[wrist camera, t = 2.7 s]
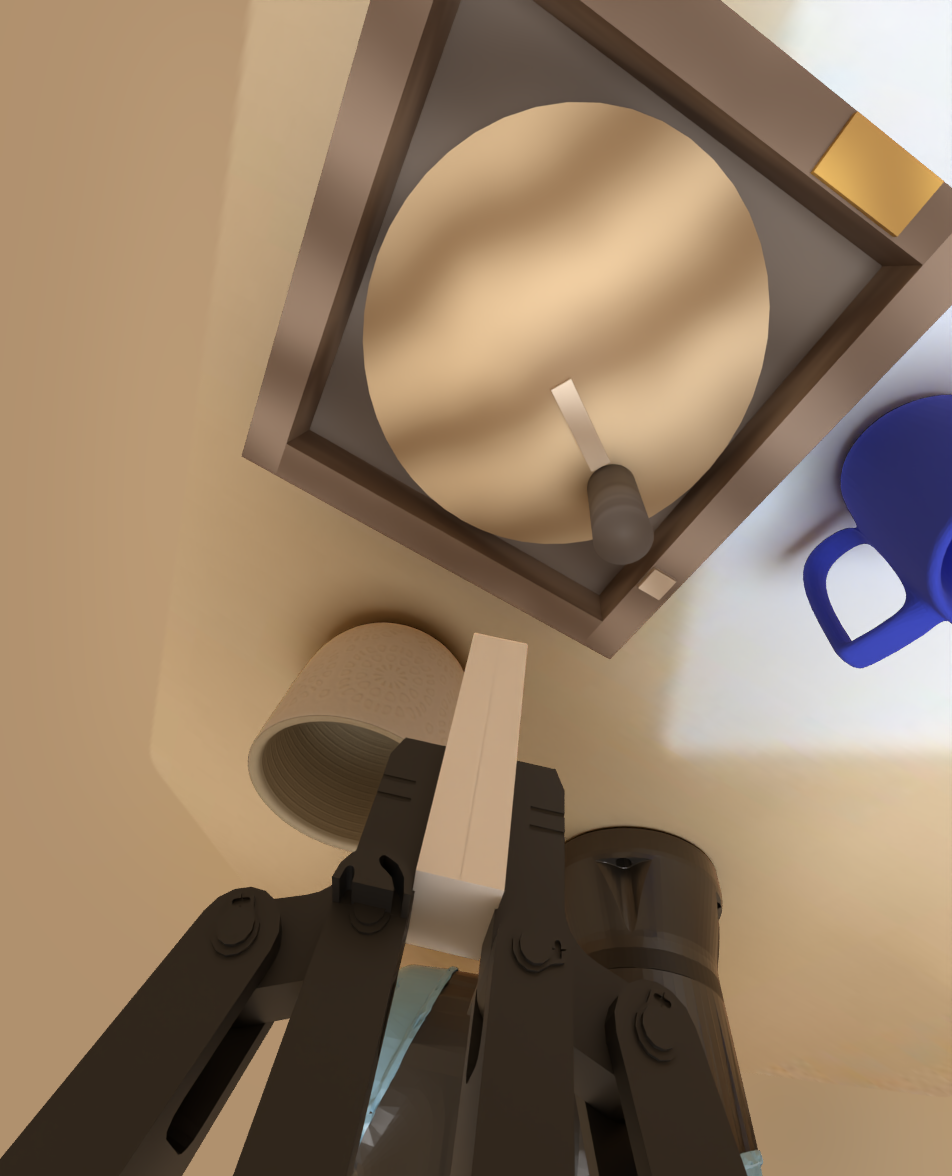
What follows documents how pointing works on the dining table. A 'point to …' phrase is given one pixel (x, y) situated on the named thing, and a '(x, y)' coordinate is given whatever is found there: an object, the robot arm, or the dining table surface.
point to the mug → (895, 526)
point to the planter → (352, 726)
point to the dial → (566, 325)
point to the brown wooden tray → (747, 157)
